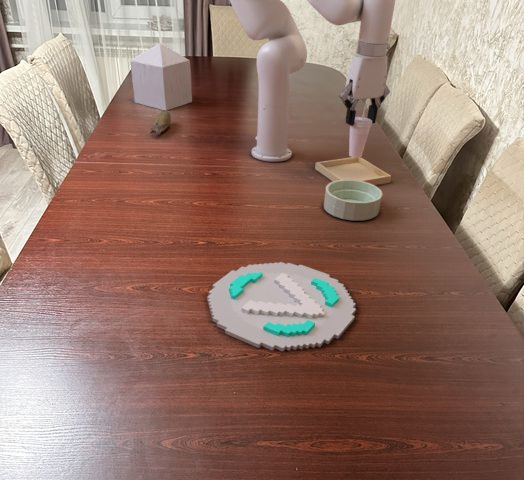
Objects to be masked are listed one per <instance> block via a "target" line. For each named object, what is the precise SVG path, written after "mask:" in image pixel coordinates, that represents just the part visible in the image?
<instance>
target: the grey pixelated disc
mask: <svg viewBox="0 0 524 480" xmlns="http://www.w3.org/2000/svg"><path fill="white" fill-rule="evenodd" d="M211 288H212V289H210V290H209V291H208V295H207V297H206V301H207V305H208V308H209V312H210V313H209V314H210V316H211V317H210V318H211V319H212V320H211V322H214V323H216V327H217V328H219V329H222V330H224V334H225V335H227V336H230V337H232V338H234V339H237V340H239V341H241V342H244V343H246V344H248V345H251V346H253V347H254V348H257V349H260V348H261V347H263V348H265V349H267V350H270V351H274V350H275V349H276V350H278V351H280V352H285V350H286V351H288V352H290V351H291V350H293V351H296V350H297V349H299V350H303V349H307V350H308V349H309V348H312V349H315V347H318V348H321V347H322V346H323V344H326V345H329V344H330V343H331V342H332V341H333V340H334V339H337V340H339V339H340V338H341V336H342V335H343V334H344V332H345V331H346V330H347V329H348V328H349V326H350V325H351V324H352V323H353V322H354V321H355V317H356V316H355V314H356V312H357V308H356V305H357V303H355V302H354V301H355V300H354V299H352V296H351V295H350V292H349V291H348V290H347V287H346V286H345V284H343V283H341V282H340V281H339V279H336V278H334V277H331V275H330V274H328V273H325V272H323V271H320V270H317V269H315V268H311V267H309V266H306V265H304V264H299V265H297V264H295V263H291V262H287V263H285V262H283V261H279V262H276V261H275V262H274V263H272V262H269V263H267V262H264V263H259V264H257V263H253V264H247V266H241V267H239V268H238V269H237V270H234V269H232V270H230V271H229V272H228V273H227V274H225V275H224V276H223V277H221V278H220V279H219V280H217V281H216V282H214V283H213V284H212V287H211ZM348 292H349V293H348Z"/></svg>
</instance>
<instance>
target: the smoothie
mask: <svg viewBox="0 0 524 480" xmlns="http://www.w3.org/2000/svg"><path fill="white" fill-rule="evenodd" d="M366 110H367V102H365V103H364V107H363V113H362V116H355V122H354V125H353V126H350V125H349V142H348V143H349V144H348V151H349V152H348V157H354V158H360V157H361V158H362V157H363V154H364V150H365V147H366V143H367V139H368V136H369V134H370V130H371V129H370V128H371V127H372V126H373V123H372V120H371V119H368V118H367V117H365V116H366V112H367V111H366Z"/></svg>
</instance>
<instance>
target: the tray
mask: <svg viewBox="0 0 524 480" xmlns="http://www.w3.org/2000/svg"><path fill="white" fill-rule="evenodd" d="M314 169H315V171H317V172H318V173H320V174H321V175H323V176H324V177H325V178H327V179H328V180H330V181H331V182H333V181H338V180H358V181H363V182H367V183H370V184H373V185H375V186H378V185H384V184H391V181H392V175H391V174H389V173H388V172H386V171H385V170H383V169H381V168H380V167H378V166H376V165H374V164H373V163H371V162H370V161H367V160H366V159H364V158H362V157H360V158H354V157H351V156H349V157H343V158H338V159H337V158H336V159H331V160H324V161H317V162H315V165H314Z"/></svg>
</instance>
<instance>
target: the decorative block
mask: <svg viewBox="0 0 524 480" xmlns="http://www.w3.org/2000/svg"><path fill="white" fill-rule="evenodd" d="M191 69H192V68H191V61H190V59H188V58H186V57H185V56H183V55H182V54H180V53H178V52H176V51H174V50H172V49H171V48H170V47H167V46H166V45H164V44H162V43H157V44H155V45H153V46H152V47H150V48H148V49H146V50H144V51H143V52H142V53H140V54H138V55H137V56H135V57H133V58H132V59H131V60H130V71H131V78H132V79H131V80H132V89H133V94H134V95H133V97H134V103H135V104H138V105H139V104H140V105H142V106H146V107H150V108H155V109H157V110H162V111H169V110H172V109H175V108H178V107H181V106H184V105H187V104H190V103H192V102H193V93H192V71H191Z"/></svg>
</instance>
